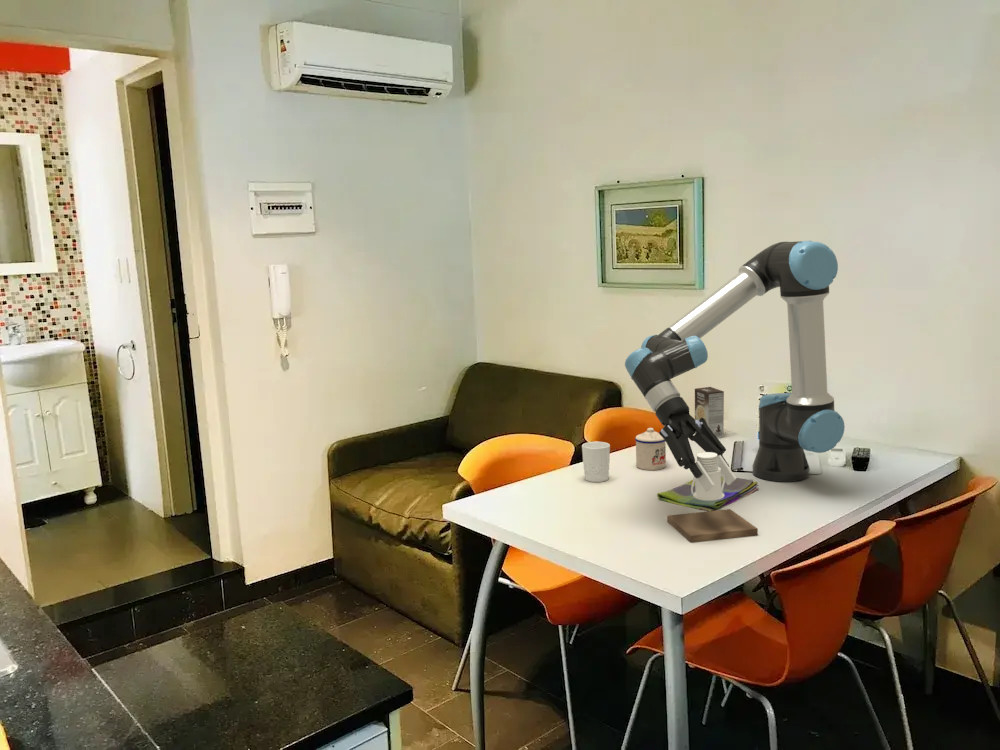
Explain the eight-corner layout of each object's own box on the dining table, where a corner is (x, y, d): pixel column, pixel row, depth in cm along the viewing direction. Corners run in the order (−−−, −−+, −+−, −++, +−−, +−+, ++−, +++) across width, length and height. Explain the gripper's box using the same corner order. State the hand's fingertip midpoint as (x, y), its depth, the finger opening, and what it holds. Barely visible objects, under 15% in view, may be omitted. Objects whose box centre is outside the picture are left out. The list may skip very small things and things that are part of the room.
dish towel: (653, 501, 209) (653, 490, 208) (703, 479, 225) (703, 469, 225) (713, 514, 196) (713, 504, 196) (761, 490, 213) (761, 480, 213)
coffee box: (693, 434, 275) (693, 388, 273) (710, 432, 277) (710, 386, 274) (707, 439, 267) (707, 392, 264) (724, 437, 268) (724, 390, 266)
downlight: (718, 490, 188) (717, 449, 187) (731, 499, 182) (730, 456, 180) (686, 494, 187) (684, 453, 186) (698, 503, 180) (696, 461, 179)
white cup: (610, 474, 232) (609, 441, 230) (611, 482, 224) (610, 448, 223) (582, 475, 233) (581, 441, 231) (582, 483, 225) (581, 448, 224)
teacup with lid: (656, 472, 232) (655, 433, 230) (629, 467, 238) (628, 429, 236) (677, 463, 241) (676, 425, 239) (651, 458, 247) (650, 421, 245)
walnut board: (729, 515, 194) (729, 509, 194) (757, 534, 180) (757, 528, 180) (667, 521, 192) (667, 515, 191) (690, 542, 178) (690, 535, 178)
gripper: (687, 407, 200) (740, 485, 189) (630, 420, 189) (682, 502, 178) (704, 389, 195) (759, 467, 184) (646, 401, 184) (700, 484, 173)
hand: (721, 484), depth 181 cm, fingers closed on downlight, 7 cm apart
